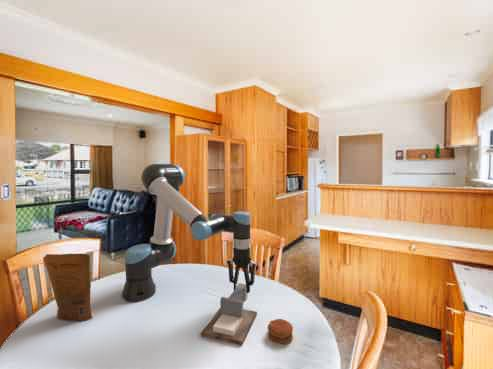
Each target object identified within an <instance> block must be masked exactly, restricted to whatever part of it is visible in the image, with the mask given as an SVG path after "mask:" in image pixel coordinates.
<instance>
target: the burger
mask: <svg viewBox="0 0 493 369" xmlns="http://www.w3.org/2000/svg"><path fill="white" fill-rule="evenodd" d="M268 323H269V324H268V325H267V330H268V331H267V337H268V339H269V340H270V341H271V342H276V343H277V344H281V345H286V344H289V343H291V342H292V340H293V338H294V336H293V328H294V327H293V325H292V323H291V322H289V321H288V320H286V319H283V318H277V319H273V320H270V321H269V322H268Z"/></svg>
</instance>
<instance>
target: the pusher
mask: <svg viewBox="0 0 493 369" xmlns="http://www.w3.org/2000/svg"><path fill="white" fill-rule="evenodd" d="M245 285H246V283H240V282H239V285H238V286H237V288H236V289H235V290H234V289H233V292H231V294H230V295H229V297H224V296H222V297H221V298H219V300H220V301H219V302H220V303H219V304H220V306H219V309H220V313H221V314H226V315H231V316H237V317H242V316H243V309H244V304H245V302H246V301H245Z"/></svg>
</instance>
